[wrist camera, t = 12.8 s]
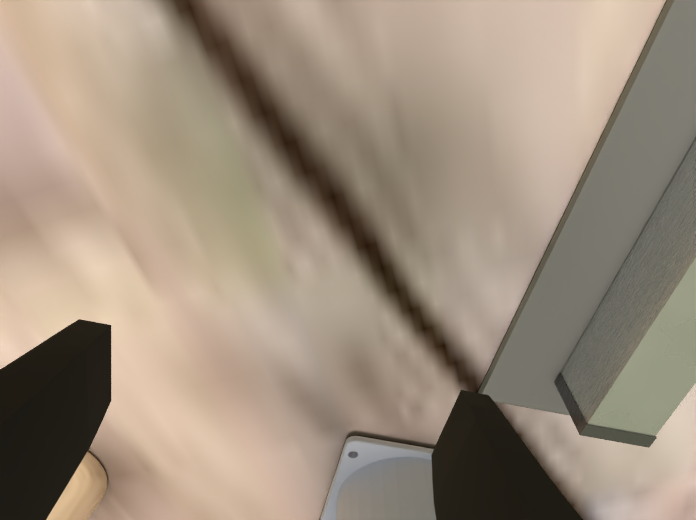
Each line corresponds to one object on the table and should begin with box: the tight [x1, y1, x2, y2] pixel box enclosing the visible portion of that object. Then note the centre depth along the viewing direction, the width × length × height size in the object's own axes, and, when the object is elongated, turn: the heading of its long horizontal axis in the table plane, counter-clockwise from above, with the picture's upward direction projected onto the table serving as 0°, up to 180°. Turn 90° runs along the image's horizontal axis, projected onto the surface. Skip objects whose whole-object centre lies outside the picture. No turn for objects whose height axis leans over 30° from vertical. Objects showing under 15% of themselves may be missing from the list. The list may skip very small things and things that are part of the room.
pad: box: [478, 0, 696, 415], centre depth 19 cm, size 22×9×1 cm, turn 167°
